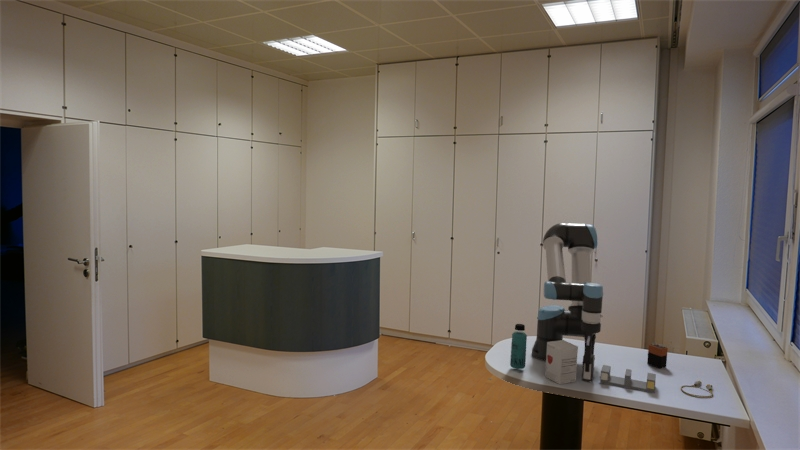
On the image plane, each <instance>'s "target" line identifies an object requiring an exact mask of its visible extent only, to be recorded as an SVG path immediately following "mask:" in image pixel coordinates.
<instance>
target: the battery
mask: <svg viewBox="0 0 800 450" xmlns="http://www.w3.org/2000/svg"><path fill="white" fill-rule="evenodd" d="M667 361H668V347H667V346H665V345H664V344H658V343H656V342H652V343H651V344H648V349H647V365H649V366H652V367H654V368H658V369H664V368H667V364H668V363H667Z"/></svg>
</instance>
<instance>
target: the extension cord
mask: <svg viewBox="0 0 800 450" xmlns="http://www.w3.org/2000/svg"><path fill="white" fill-rule="evenodd" d="M701 385H702V381H701V380H697V381H694V384H692V385H687V387H689V388H690V387H691V388H697V389H701V390H703V391H706V392H708V393H710V395H698V394H694V393H689V392H686V391H684V390H683V389H684V388H685V385H682V386H681V387H680V391H681V392H682V393H684V394H685V395H688V396H691V397H694V398H699V399H708V398H709V399H711V398H714V394H713V385H712V384H706V385H705V388H706V389H707V390H706V389H704V388H702V387H700V386H701Z"/></svg>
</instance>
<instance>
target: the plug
mask: <svg viewBox="0 0 800 450" xmlns="http://www.w3.org/2000/svg"><path fill="white" fill-rule="evenodd" d="M582 357H583V358H582V362H584V355H583V356H582ZM595 360H596V356H595V354H594V355H593V354H592V356H591V379H590V380H589V379H584V378H583V375H584V363H582V370H581V371H582V372H581V381H583V382H584V381H585V382H588V383H589V382H590V383H593V381H594V374H595V373H594V372H595Z"/></svg>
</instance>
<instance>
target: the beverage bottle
mask: <svg viewBox="0 0 800 450" xmlns="http://www.w3.org/2000/svg"><path fill="white" fill-rule="evenodd" d="M514 330H515V331H513V333H512V334H511V345H510V346H511V347H510V361H509V363H510V368H511V369H512V368H513V369H515V370H523V369H525V367H526V359H527V340H528V339H527V337H528V335H527V334H526V333H525V332H524V331H525V330H526V325H525V324H523V323H515V325H514Z"/></svg>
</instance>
